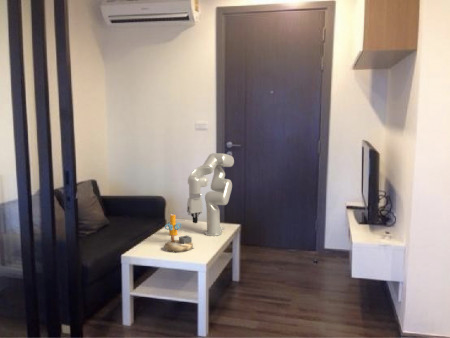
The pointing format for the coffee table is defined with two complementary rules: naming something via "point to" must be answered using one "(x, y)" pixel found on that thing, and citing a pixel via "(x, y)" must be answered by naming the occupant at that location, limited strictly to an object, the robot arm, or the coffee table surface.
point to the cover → (185, 239)
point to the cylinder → (173, 225)
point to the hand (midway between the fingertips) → (195, 222)
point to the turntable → (177, 245)
